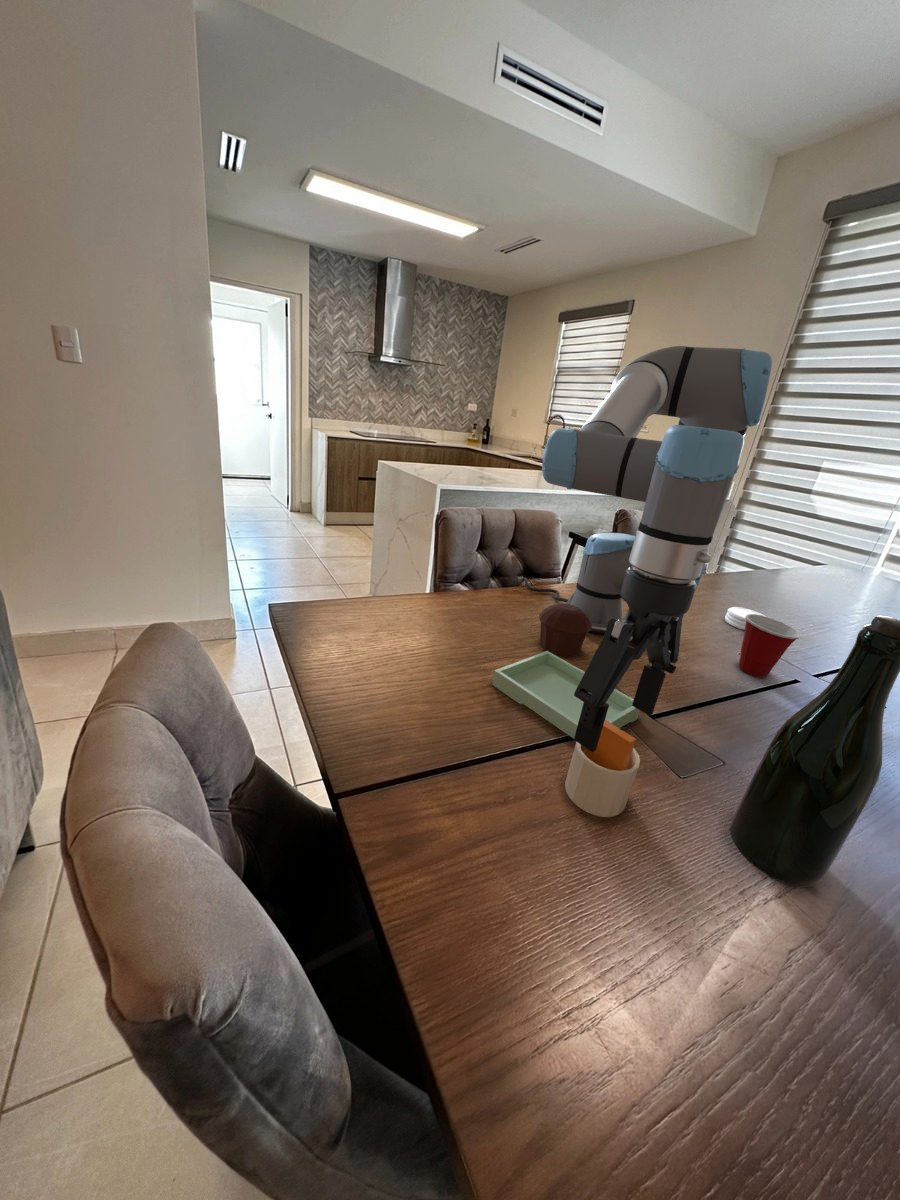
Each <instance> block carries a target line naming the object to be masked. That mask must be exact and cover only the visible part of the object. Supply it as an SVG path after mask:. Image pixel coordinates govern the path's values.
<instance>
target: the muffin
mask: <svg viewBox="0 0 900 1200" xmlns="http://www.w3.org/2000/svg"><path fill="white" fill-rule="evenodd" d="M538 619H539V621H540V636H539V638H540V639H539V644H540V646H541V647H542V649H543V650H544V652H545V651H549V652H550V653H552V654H554V655H556V656H557V657H564V658H570V657H575V656H578V655H579V652H580V650H581V648H582V646H583V643H584V641H585V639H586V636H587V634H588V633H590V632H589V631H590V630H591V629H592V624H591V622H590V618H589V617H588V615H587V614H586V613H585V612H583V611H582V610H581V609H580V608H578V607H576V606H574V605H570V604H566V603H565V602H561V603H555V604H551V605H549V606H547V607H545V608H544V609H543V610H542V611H541V612H540V613H539V618H538Z"/></svg>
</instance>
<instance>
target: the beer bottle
mask: <svg viewBox="0 0 900 1200" xmlns="http://www.w3.org/2000/svg"><path fill="white" fill-rule="evenodd" d="M899 674H900V619H899V618H895V617H891V616H887V615H876V616H874V618H873V619H871V623H870V624H865V625H863V626H862V628H861V629H860V630H859V632H858V633H857V635H856V639H855V642H854V645H853V646H852V648H851V650H850V652H849V654H848V655H847V658H845V661H844V662H843V664H842V665H841V667H840V669H839V671H838V672H837V674H836V675H835V676H834V678H833V679H832V681H831V682H830V683H829V684H828V685H827V686H826V687H825V688H824V689H823V690H822V692H820V693H819V694H818V695H817V696H816V697H815V698H814V699H812V700H811V701H809V702H808V703H807V704H806V705H804V706H803V707H802V708H800V709H799V710H798V711H796V712H795V713H794V714H793V715H791V716H790V717H789V718H788V719H786V720H785V722H784V723H783V724H782V725H781V727H780V728H779V729H778V730H777V731H776V733H775V734H774V736H773V738H772V740H771V742H770V743H769V745H768V747H767V748H766V750H765V752H764V754H763V756H762V758H761V760H760V761H759V764H758V766H757V768H756V769H755V772H754V773H753V776H752V778H751V780H750V782H749V784H748V786H747V787H746V790H745V791H744V793H743V796H742V798H741V800H740V802H739V803H738V806H737V807H736V810H735V812H734V813H733V816H732V819H731V822H730V824H729V832H730V833H729V834H730V835H731V836H730V837H731V839H732V841H733V843H734V845H735V846H736V848H737V850H738V851H739V852H740V853H741V855H743V856H744V858H745V859H746V860H747V861H749V862H750V863H751V864H752V865H753V866H754V867H756V868H757V869H759V870H760V871H761V872H762V873H765V874H766V875H767V876H769V878H772V879H774V880H776V881H779V882H780V883H783V884H786V885H789V886H794V887H799V888H801V887H802V888H807V887H812V886H813V887H814V886H816V885H818V884H819V883H821V882H822V880H823V879H824V878H825V876H826V875H827V873H829V871H830V869H831V867H832V865H834V862H835V861H836V859H837V857H838V855H839V853H840V852H841V850H842V848H843V847H844V845H845V843H846V841H847V839H848V838H849V836H850V834H851V833H852V831H853V829H854V827H855V825H856V823H858V821H859V818H860V816H861V815H862V813H863V811H864V809H865V808H866V806H867V804H868V802H869V800H870V798H871V796H872V794H873V792H874V790H875V788H876V786H877V784H878V782H879V778H880V774H881V770H882V767H883V725H884V723H883V722H884V714H885V709H886V705H887V703H888V701H889V697H890V693H891V691H892V689H893V687H894V685H895V683H896V680H897V678H898V676H899Z"/></svg>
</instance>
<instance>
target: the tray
mask: <svg viewBox="0 0 900 1200" xmlns="http://www.w3.org/2000/svg"><path fill="white" fill-rule="evenodd" d="M584 673H585V671H584V670H583V669H581V668H579V667H577V666H575V665H573V664H571V663H570V662H568V661H566V660H564V659H563V658H561V657H560V656H557V655H554V654H552V653H550V652H549V651H545V650H544V651H543V652H540V653H537V654H534V655H532V656H529V657H527V658H523V659H521V660H519V661H516V662H514V663H511V664H508V665H505V666H502V667H499V668H497V669H495V670H494V672H493V677H492V678H493V679H492V681H491V682H492V683H491V686H493V687H495V688H496V689H497V690H499V691H500V692H502V693H503V694H505V695H506V696H508V698H510V699H511V700H513V701H515V702H516V703H518V704H519V705H524V706H526V707H527V708H529V709H530V710H531V711H533V712H534V713H536V714H537V715H539V716H540V717H542V718H543V719H545V720H546V721H547V722H549V723H550V724H552V725H553V726H555V727H557V728H558V729H559V730H560V731H562V732H563V733H565V734H566V735H568V736H569V737H570V738H571V739H573V740H574V737H575V733H576V729H577V726H578V722H579V718H580V715H581V711H582V707H583V703H584V702H583V701H582V700H580V699H578V698H577V697H575V696H574V693H575V691H576V689H577V687H578V685H579V683H580V681H581V679H582V677H583V675H584ZM633 700H634V698H633V697H630V696H628V695H627V694H625V693H623V692H621V691H620V690H618V689H616V688H615V689H614V691H613V692H612V694H611V695H610V697H609V698H608V700H607V702H606V703H607V704H609V708H608V711H607V714H606V718H605V720H607V721H608V722H610V723H611V724H613V725H615V726H616V727H618V728H619V729H621V728H623V727H625V726H626V725H628V724H629V723H634V722H636V721H637V720H638V718H639V716H640V713H641V710H639V709H637V708H635V707H634V706H632V703H633Z"/></svg>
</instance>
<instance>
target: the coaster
mask: <svg viewBox="0 0 900 1200" xmlns="http://www.w3.org/2000/svg"><path fill="white" fill-rule="evenodd" d="M747 614H757V615H762V616H765V615H764V614H762V613H760V612H758V611H756V610H753V609H750V608H746V607H740V606H731V607H729V608H728V609H727V612H726V614H725V616H724V621H725V622H726V623H727V624H729V625H731V626H732V627H734V628H737V629H739V630H742V631H745V626H746V625H745V624H746V618H745V617H746V615H747Z"/></svg>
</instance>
